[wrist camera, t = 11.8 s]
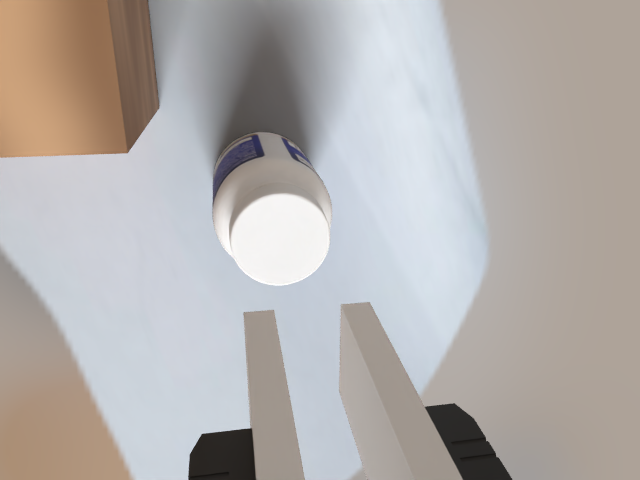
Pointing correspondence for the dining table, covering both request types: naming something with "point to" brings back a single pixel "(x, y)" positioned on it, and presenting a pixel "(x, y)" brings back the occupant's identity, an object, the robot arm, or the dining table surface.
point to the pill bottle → (271, 209)
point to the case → (75, 76)
